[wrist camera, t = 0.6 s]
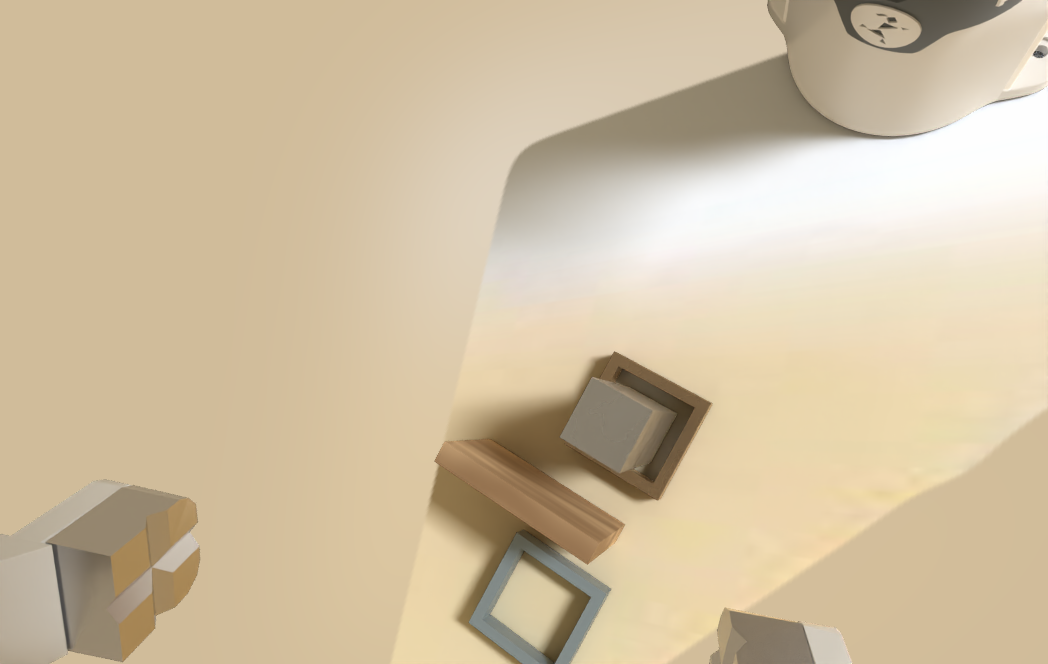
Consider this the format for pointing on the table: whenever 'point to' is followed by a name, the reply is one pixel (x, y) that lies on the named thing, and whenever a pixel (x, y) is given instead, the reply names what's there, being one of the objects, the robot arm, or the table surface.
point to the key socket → (682, 443)
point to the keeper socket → (523, 541)
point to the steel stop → (617, 425)
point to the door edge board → (532, 496)
